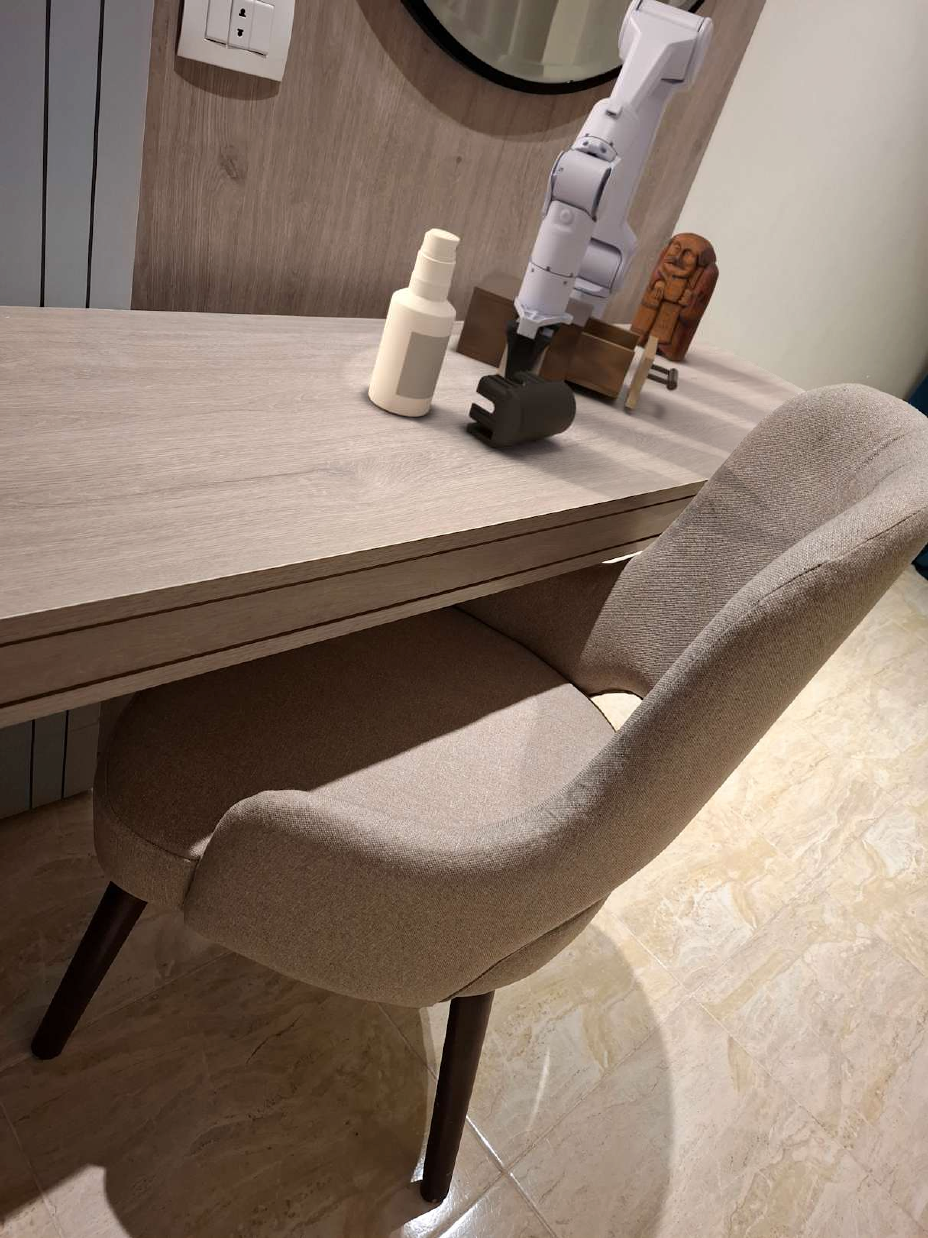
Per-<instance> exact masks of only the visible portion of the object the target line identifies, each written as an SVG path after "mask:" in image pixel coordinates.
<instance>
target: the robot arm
mask: <svg viewBox="0 0 928 1238" xmlns="http://www.w3.org/2000/svg"><path fill="white" fill-rule="evenodd" d="M622 21H623V22H622V23H621V28H620V31H619V35H618V42H617V47H618V52H619V54H618V57H619V58H620V61H621V65H622V68H621V70H620V72H619V75H618V77H617V79H616V82H615V84H614V87H613V89H612V91H611V94H610V96H609V97H606V98H603V99H601V100H599V101H597V102H596V103H595V104H594V106H592V110H590V113H589V114H588V117H587V119H585V122H584V123H583V126H582V128H581V129H580V131H579V133H578V135H577V137H576V139H575V140H574V142H573V143H572V146H571V148H570V149H569V150H568V151H566V150H562V151H560V153H559V154H558V156H557V158H556V159H555V162H554V164H553V166H552V169H551V171H550V175H549V178H548V181H547V187H546V192H545V199H544V203H543V205H542V209H541V214H540V218H542V221H541V225H540V227H539V230H538V233H537V237H536V240H535V242H534V246H533V249H532V252H531V255H530V259H529V261H528V265H527V268H526V271H525V274H524V277H523V283H522V286H521V289H520V292H519V295H518V296H517V297H516V299H515V302H514V305H515V307H516V309H517V312H516V313H515V316H516V320H517V319H518V318H519V317H520V318H521V321H520V323H519V322H516V321H514V320H511V319H509V320H508V321H507V323H506V335H507V360H506V367H505V376H504V378H506V379H508V380H509V381H511V382H513V383H516V384H520V385H523V383H524V382H523V381H521V380H520V379H518V378H516V377H515V376H514V375H515V372H520V371H521V372H523V371H527V370H528V371H531V369H532V367H533V365H534V363H535V361H536V360H537V358H538V357H539V355H540V354H541V353H542V352H543V350H544V349H545V348H546V347H547V346H548V345H549V344H550V343H551V342H552V341H553V338H551V337H549V336H546V335H543V334H541V333H540V330H539V328H540V326H545V327H548V328H551V329H553V330H554V332H553V335H552V337H553V336H554V334H555V333H556V332H558V331H559V329H560V327H561V323H560V322H563V323H566V324H571V322H572V320H573V316H572V315H570V314H568V313H566V312H565V310H566V307H567V304H568V301H569V298H570V297H571V298H574V299H577V300H579V301H582V302H585V303H587V304H590V305H593V306H594V309H593V312H592V314H591V316H592V317H594V318H597V319H600V320H602V317H603V315H604V311H605V309H606V306H607V304H608V302H609V299H610V297H611V296H616V295H618V294H620V293H621V292H622V290H623V289H624V287H625V285H626V282H627V281H628V278H629V276H630V274H631V271H632V268H633V265H634V262H635V255H636V252H637V251H638V250H637V249H638V247H639V244H638V242H639V240H638V238H637V235H636V234H635V232H634V231H633V228H631V226H630V224H629V222H628V216H629V213H630V210H631V209H632V205H633V202H634V200H635V196H636V193H637V191H638V188H639V186H640V183H641V180H642V176H643V174H644V171H645V168H646V165H647V163H648V160H649V157H650V154H651V152H652V149H653V146H654V143H655V141H656V137H657V134H658V132H659V129H660V126H661V124H662V121H663V118H664V115H665V112H666V109H667V107H668V105H669V103H670V102H671V100H672V99H673V97H674V96H675V94H676V93H685V92H690V91H691V88H692V86H694V85H695V82H696V80H697V78H698V75H699V73H700V70H701V67H702V65H703V62H704V59H705V57H706V54H707V52H708V49H709V46H710V43H711V40H712V36H713V34H714V27H715V26H714V23H713V19H712V18H711V17H709V16H707V17H703V16H701V15H698V14H695V13H692V12H689V11H686V10H683V9H680V8H677V7H675V6H672V5H669V4H666V3H664V2H660V1H658V0H632V1H631V2H630V4H629V6H628V9H627V11H626V13H625V15H624V19H623V20H622Z"/></svg>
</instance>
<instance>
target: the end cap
mask: <svg viewBox="0 0 928 1238" xmlns="http://www.w3.org/2000/svg"><path fill="white" fill-rule="evenodd" d="M514 376H515V377H516V378H518V379H520V380H521V381H523V382H525V385H520V384H516V383H513V382H511V381H509V380H508V379H506V378H504V377H503V376H501V375H499V374H497V373H495V374H487V375H482V377H480V379H479V380H478V384H477V387H476V390H475V393H476V394H478V395H480V396H481V397H483V398H484V399H486V400H487V401H489V402H491V403H492V404H493V411H492V412H490V411H488V410H487V409H485V408H484V407H482V406H481V405H479V404H478V403H476V402H472V403H471V406H470V409H469V413H468V417H469V419H471V420H473V421H474V422H469V423H467V426H466V431H467V432H468V433H470V434H471V435H473V436H474V437H476V438H477V439H478V440H480V441H482V442H483V443H485V444H486V445H488V446H490V447H493V448H495V449H497V448H502V447H506V446H511V445H517V444H521V443H526V442H532V441H535V440H536V441H537V440H542V439H546V438H551V437H554V436H556V435H560V434H562V433H564V432H566V431H567V430H568V429H570V427H571V426H572V424H573V422H574V420H575V418H576V414H577V401H576V396H575V395H574V391H572V389H571V387H570V386H569V385H568V384H567V383H566V381H565V382H563V381H558V382H551V383H549V382H547V381H545V380H544V379H542V378H540V377H539V376H537V375H535V374H534V373H532V372H530V371H528V370H527V371H523V372H521V371H520V372H515V375H514Z"/></svg>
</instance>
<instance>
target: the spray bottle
mask: <svg viewBox="0 0 928 1238" xmlns="http://www.w3.org/2000/svg"><path fill="white" fill-rule="evenodd" d="M460 240H461V239H460V237H459V236H457V235H455V234H453V233H451V232H449V231H446V230H443V229H439V228H431V229H430V230H428V231H426V232H425V235H424V238H423V243H422V245H421V246H420V249H419V250H418V252H417V256H416V259H415V265H414V268H413V271H412V272H411V277H410V281H409V284H408V287H404V288H401V289H398V290H396V291H394V292H393V293H392V296H391V299H390V302H389V307H388V311H387V315H386V319H385V324H384V328H383V330H382V331H383V332H382V335H381V339H380V344H379V349H378V352H377V356H376V360H375V364H374V367H373V372H372V376H371V380H370V383H369V389H368V397H369V399H370V400H371V401H372V403H374V404H375V406H377V407H379V408H381V409H383V410H385V411H387V412H390V413H392V414H396V415H399V416H405V417H422V416H425V415H426V414H427V413H428V412H429V411H430V409H431V405H432V402H433V397H434V395H435V391H436V387H437V384H438V380H439V377H440V374H441V370H442V368H443V367H442V365H443V363H444V360H445V356H446V353H447V349H448V346H449V342H450V339H451V336H452V332H453V328H454V325H455V322H456V317H457V311H456V308H455V307H454V306H453V305H452V304H451V302H450V301H449V300H448V296H449V292H450V289H451V286H452V279H453V275H454V271H455V269H456V264H457V261H456V258H457V252H458V248H459V245H460Z"/></svg>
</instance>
